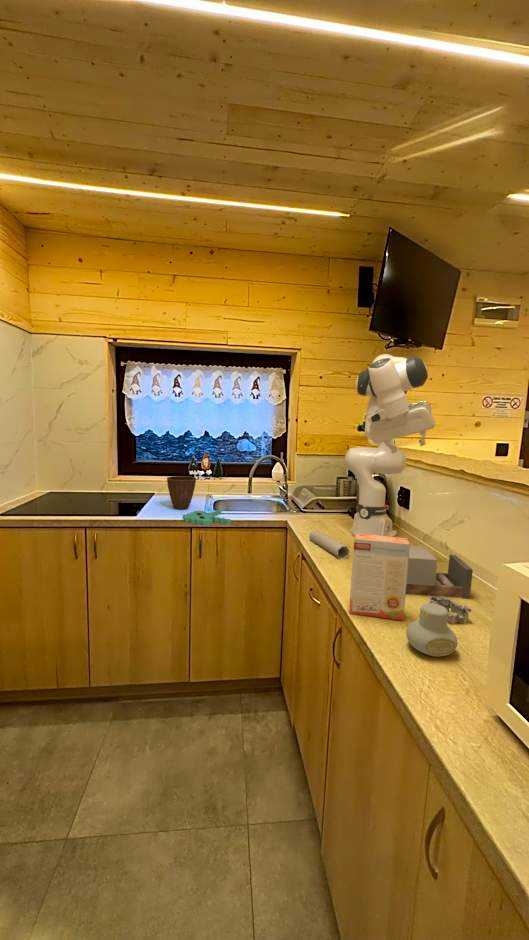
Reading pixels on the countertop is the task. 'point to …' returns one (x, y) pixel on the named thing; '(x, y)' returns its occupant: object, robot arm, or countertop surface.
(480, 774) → the countertop surface
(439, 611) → the air freshener
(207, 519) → the alien figure
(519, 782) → the countertop surface
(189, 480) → the plant pot
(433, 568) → the grey cardboard box
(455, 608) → the egg carton
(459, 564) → the roller bed
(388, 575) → the cracker box
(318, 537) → the tube
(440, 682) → the countertop surface
